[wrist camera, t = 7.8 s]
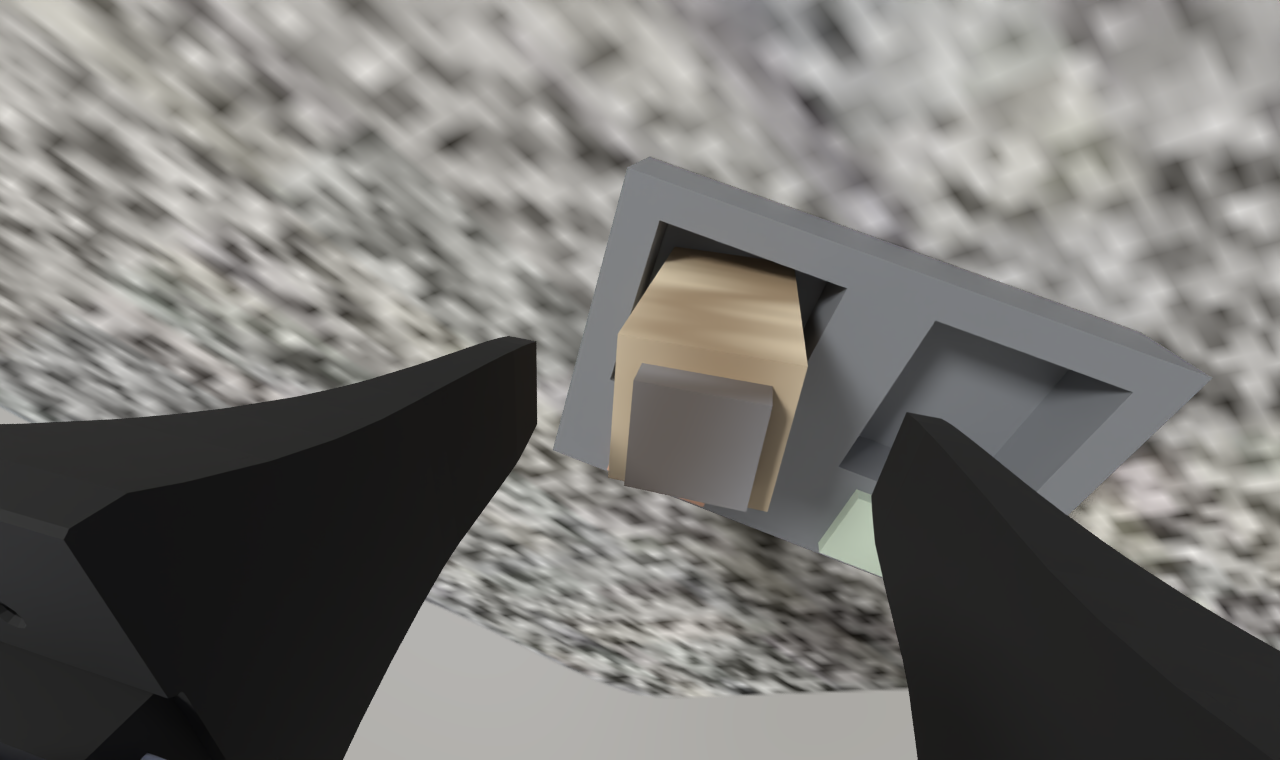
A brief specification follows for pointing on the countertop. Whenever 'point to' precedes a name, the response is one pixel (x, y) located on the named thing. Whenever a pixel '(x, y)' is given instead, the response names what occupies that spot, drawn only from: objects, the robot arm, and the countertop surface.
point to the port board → (883, 360)
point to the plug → (709, 380)
